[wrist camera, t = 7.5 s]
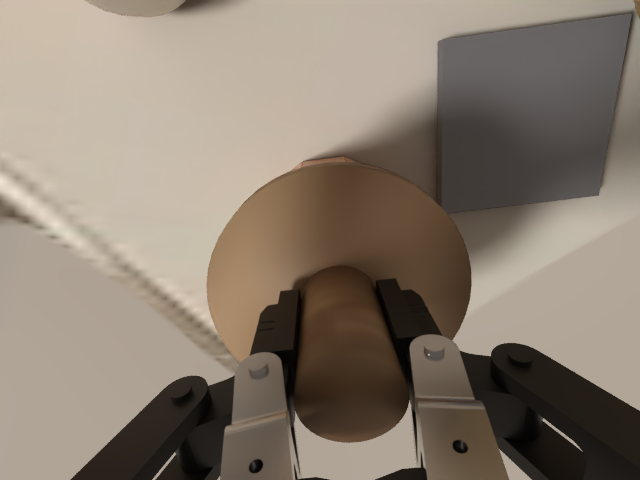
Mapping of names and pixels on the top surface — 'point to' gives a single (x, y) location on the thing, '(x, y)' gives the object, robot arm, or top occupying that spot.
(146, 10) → the plastic bottle
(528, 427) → the robot arm
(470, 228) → the top surface
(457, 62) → the mat
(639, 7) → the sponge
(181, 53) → the top surface
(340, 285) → the lid
